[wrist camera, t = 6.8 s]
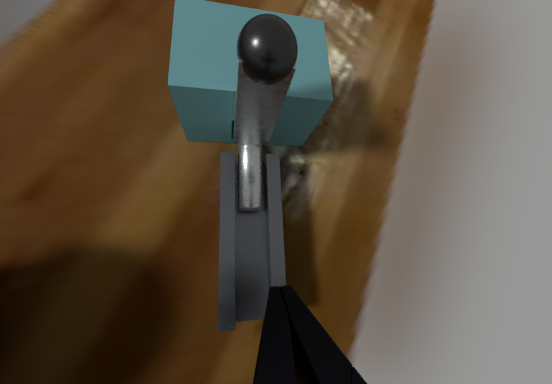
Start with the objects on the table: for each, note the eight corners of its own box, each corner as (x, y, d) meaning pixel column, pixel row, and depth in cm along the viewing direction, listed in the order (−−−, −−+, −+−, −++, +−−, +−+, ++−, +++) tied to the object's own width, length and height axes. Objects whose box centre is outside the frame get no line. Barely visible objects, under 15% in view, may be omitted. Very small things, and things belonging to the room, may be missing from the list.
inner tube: (267, 211, 22) (318, 154, 9) (232, 211, 21) (238, 150, 9) (263, 99, 25) (297, -53, 12) (232, 96, 24) (237, -67, 12)
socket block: (302, 146, 26) (333, 100, 18) (187, 140, 23) (167, 85, 16) (297, 84, 28) (323, 20, 20) (191, 73, 25) (175, -5, 18)
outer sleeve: (279, 313, 21) (288, 323, 18) (219, 319, 20) (217, 331, 17) (272, 166, 24) (279, 154, 21) (221, 165, 23) (220, 151, 20)
